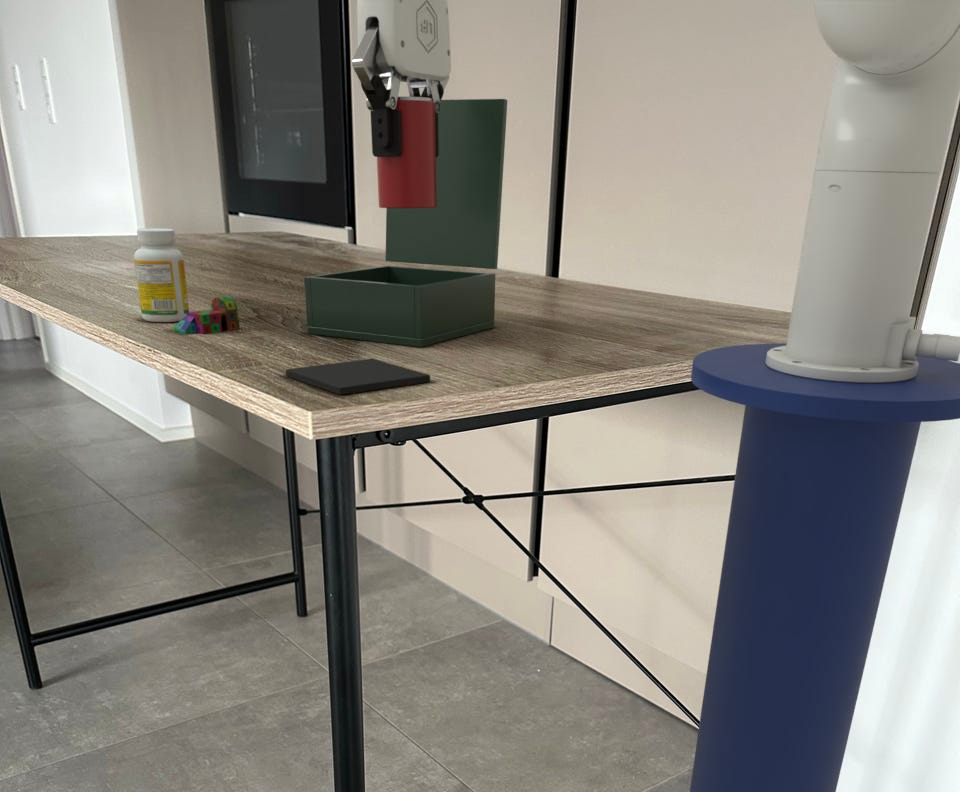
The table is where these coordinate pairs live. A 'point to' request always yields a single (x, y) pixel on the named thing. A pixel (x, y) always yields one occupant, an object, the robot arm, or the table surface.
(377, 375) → the mat
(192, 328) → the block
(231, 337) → the table surface
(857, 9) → the robot arm
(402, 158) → the can
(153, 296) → the supplement bottle
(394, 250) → the bin lid
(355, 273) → the bin
